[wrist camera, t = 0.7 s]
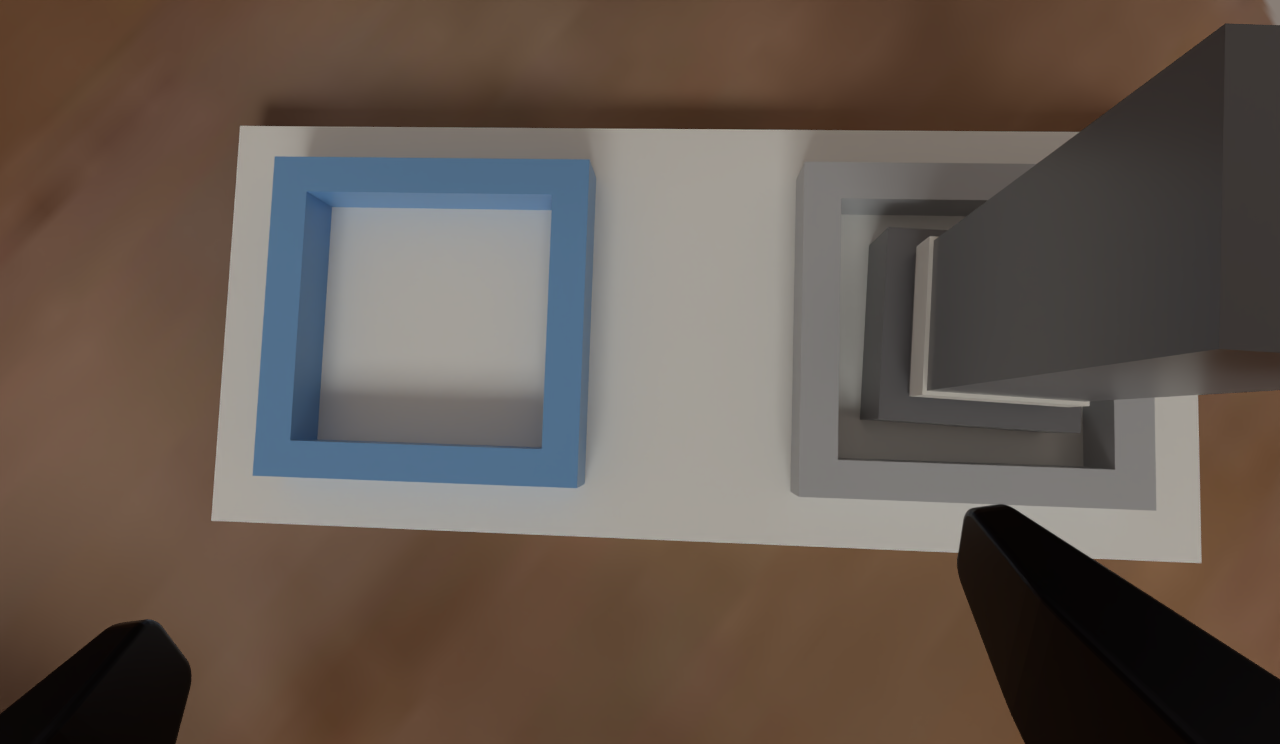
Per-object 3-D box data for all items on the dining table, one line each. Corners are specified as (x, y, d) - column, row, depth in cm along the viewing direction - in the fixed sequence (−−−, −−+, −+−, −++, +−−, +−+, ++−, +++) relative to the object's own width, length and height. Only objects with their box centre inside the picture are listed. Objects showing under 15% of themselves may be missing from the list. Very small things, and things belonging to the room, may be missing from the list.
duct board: (1169, 146, 22) (1231, 109, 19) (1176, 556, 21) (1243, 574, 18) (258, 138, 24) (208, 104, 21) (232, 516, 23) (176, 527, 20)
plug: (1042, 432, 20) (1659, 445, 7) (860, 419, 21) (1148, 409, 8) (1048, 255, 21) (1649, -25, 8) (869, 245, 21) (1161, -40, 8)
